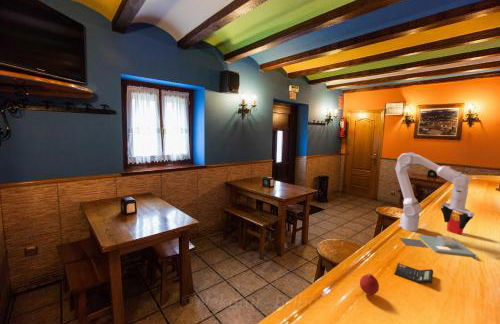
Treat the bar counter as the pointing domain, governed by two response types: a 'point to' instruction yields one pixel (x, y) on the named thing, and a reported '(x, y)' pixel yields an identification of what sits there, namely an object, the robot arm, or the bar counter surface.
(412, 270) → the calculator
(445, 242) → the tan cubic block
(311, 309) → the bar counter surface
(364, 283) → the onion
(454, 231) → the french fries
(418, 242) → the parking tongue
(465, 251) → the hole plate
